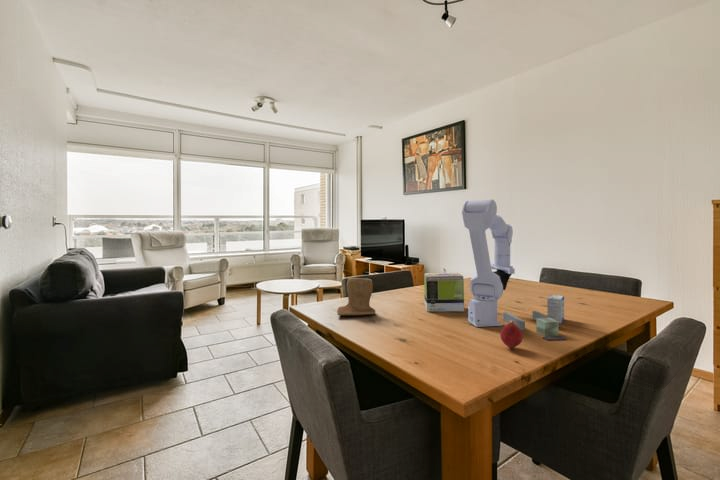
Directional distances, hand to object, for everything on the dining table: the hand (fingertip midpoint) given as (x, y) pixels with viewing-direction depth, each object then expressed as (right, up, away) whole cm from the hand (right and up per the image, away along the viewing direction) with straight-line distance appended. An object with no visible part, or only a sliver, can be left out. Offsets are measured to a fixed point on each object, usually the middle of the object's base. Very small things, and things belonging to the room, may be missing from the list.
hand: (502, 289), depth 134 cm
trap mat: (+4, -11, -29) cm, 32 cm away
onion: (-13, -12, -37) cm, 41 cm away
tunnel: (+3, -10, -14) cm, 18 cm away
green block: (+4, -11, -24) cm, 27 cm away
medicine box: (+15, -10, -10) cm, 21 cm away
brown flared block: (-57, -10, +3) cm, 58 cm away
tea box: (-21, -10, +9) cm, 25 cm away
